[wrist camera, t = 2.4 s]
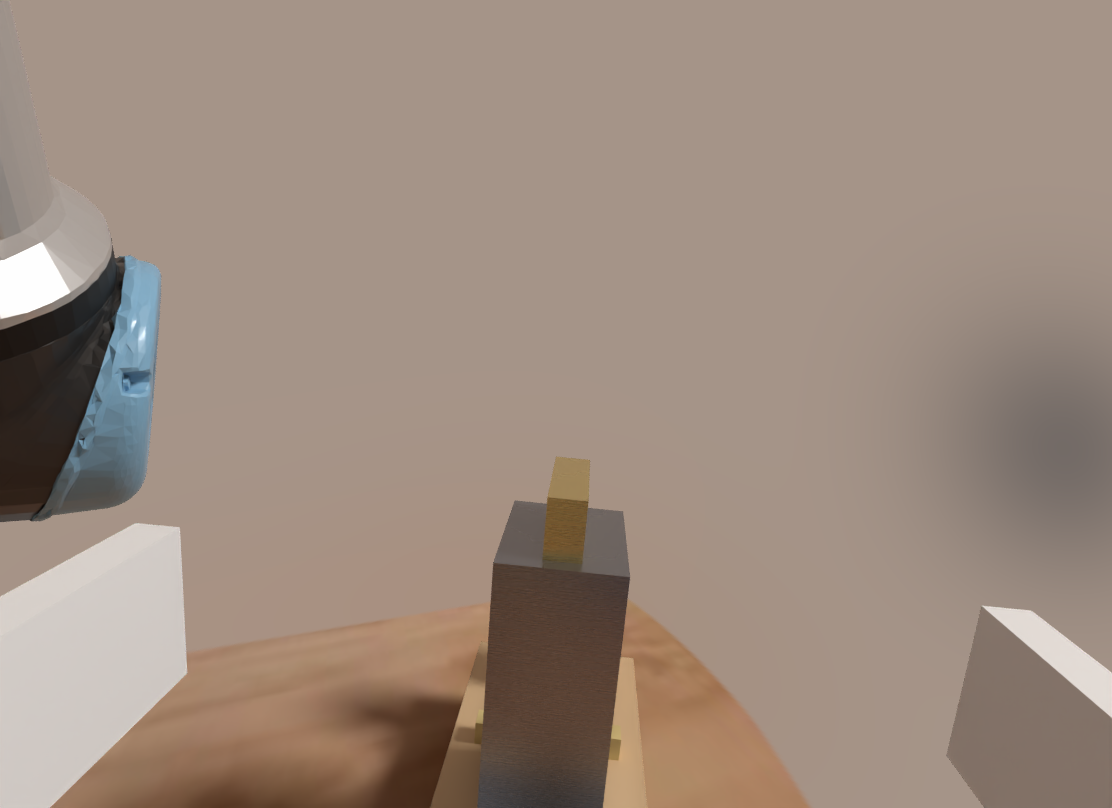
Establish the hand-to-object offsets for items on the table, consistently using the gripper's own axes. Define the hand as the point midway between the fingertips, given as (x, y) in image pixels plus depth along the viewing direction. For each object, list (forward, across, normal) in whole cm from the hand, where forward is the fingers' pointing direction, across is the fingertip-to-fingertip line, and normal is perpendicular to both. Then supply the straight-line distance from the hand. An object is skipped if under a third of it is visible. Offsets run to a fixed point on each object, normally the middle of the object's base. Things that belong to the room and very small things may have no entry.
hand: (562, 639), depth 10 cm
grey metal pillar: (+10, 0, -14) cm, 17 cm away
